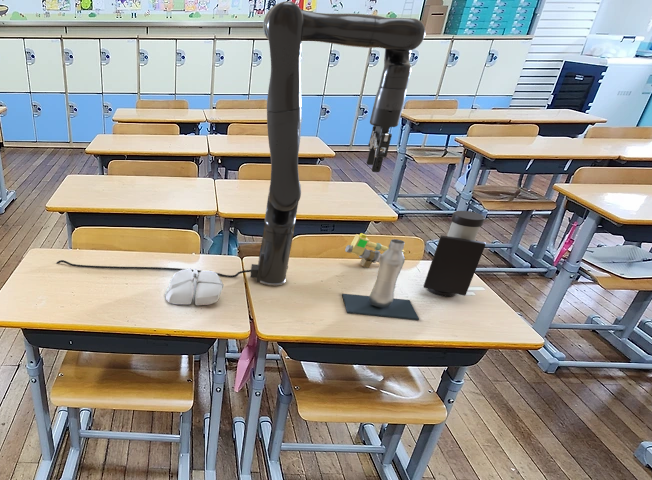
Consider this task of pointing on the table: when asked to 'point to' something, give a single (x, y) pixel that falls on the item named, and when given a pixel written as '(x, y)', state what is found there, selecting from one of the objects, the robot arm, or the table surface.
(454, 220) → the light fixture
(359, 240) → the toy
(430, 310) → the table surface
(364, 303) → the mat
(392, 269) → the plastic bottle
